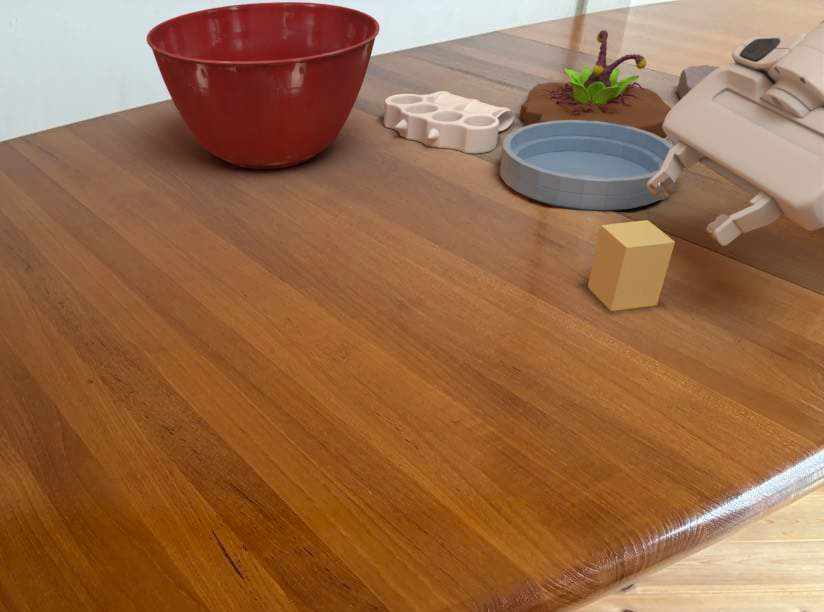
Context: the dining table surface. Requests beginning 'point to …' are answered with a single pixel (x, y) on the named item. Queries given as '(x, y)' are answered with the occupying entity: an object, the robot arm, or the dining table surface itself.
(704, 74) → the stone block
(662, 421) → the dining table surface
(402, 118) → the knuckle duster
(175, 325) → the dining table surface
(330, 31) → the mixing bowl
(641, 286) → the yellow block
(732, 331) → the dining table surface
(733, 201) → the dining table surface
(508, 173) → the blue bowl
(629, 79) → the plant
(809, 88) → the robot arm
